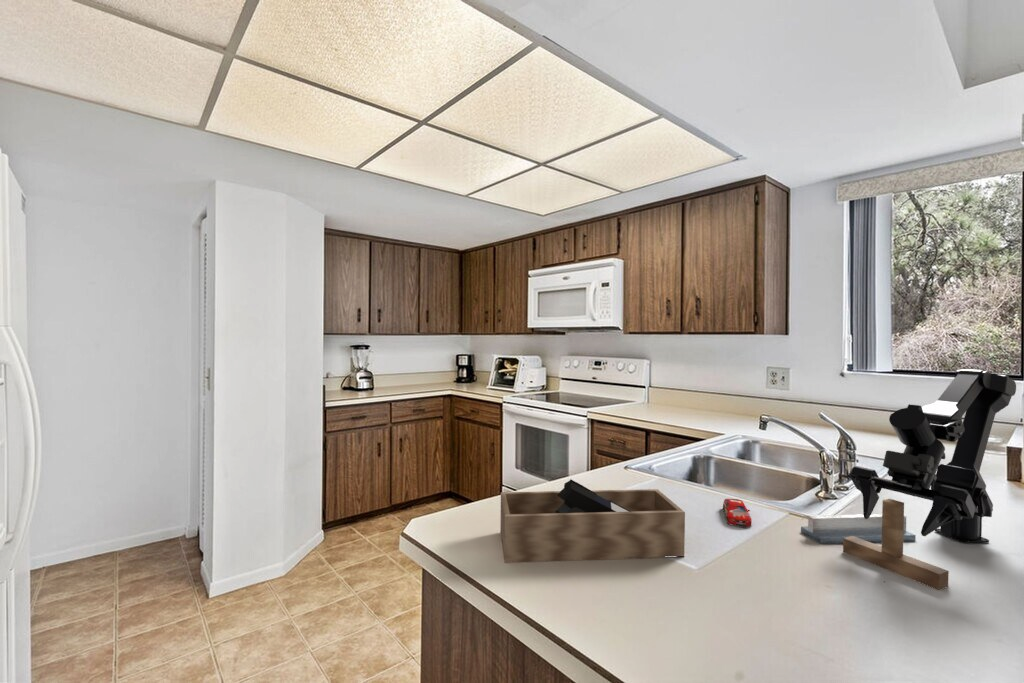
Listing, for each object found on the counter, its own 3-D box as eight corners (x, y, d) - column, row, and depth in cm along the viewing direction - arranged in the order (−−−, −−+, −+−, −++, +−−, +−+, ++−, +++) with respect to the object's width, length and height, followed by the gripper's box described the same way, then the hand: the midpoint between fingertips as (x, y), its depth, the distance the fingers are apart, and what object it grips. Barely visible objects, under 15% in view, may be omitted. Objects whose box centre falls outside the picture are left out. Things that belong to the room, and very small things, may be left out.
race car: (753, 531, 108) (753, 514, 108) (727, 528, 110) (727, 511, 110) (745, 510, 121) (745, 495, 121) (721, 508, 123) (722, 492, 122)
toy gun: (624, 587, 102) (654, 523, 104) (535, 547, 95) (569, 479, 97) (616, 579, 105) (645, 517, 107) (529, 540, 98) (562, 474, 100)
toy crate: (657, 528, 109) (657, 489, 108) (684, 556, 95) (684, 512, 95) (500, 532, 106) (500, 492, 105) (504, 562, 92) (505, 516, 92)
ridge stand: (891, 529, 109) (891, 509, 109) (915, 540, 103) (915, 520, 103) (800, 531, 107) (801, 512, 107) (820, 543, 101) (820, 522, 101)
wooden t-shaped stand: (843, 552, 98) (844, 489, 97) (851, 550, 99) (853, 488, 99) (939, 591, 83) (941, 517, 83) (948, 587, 84) (949, 514, 84)
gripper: (854, 428, 101) (825, 486, 96) (970, 446, 85) (944, 518, 80) (871, 460, 105) (844, 518, 100) (985, 483, 89) (961, 554, 84)
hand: (892, 525), depth 91 cm, fingers open, 9 cm apart
